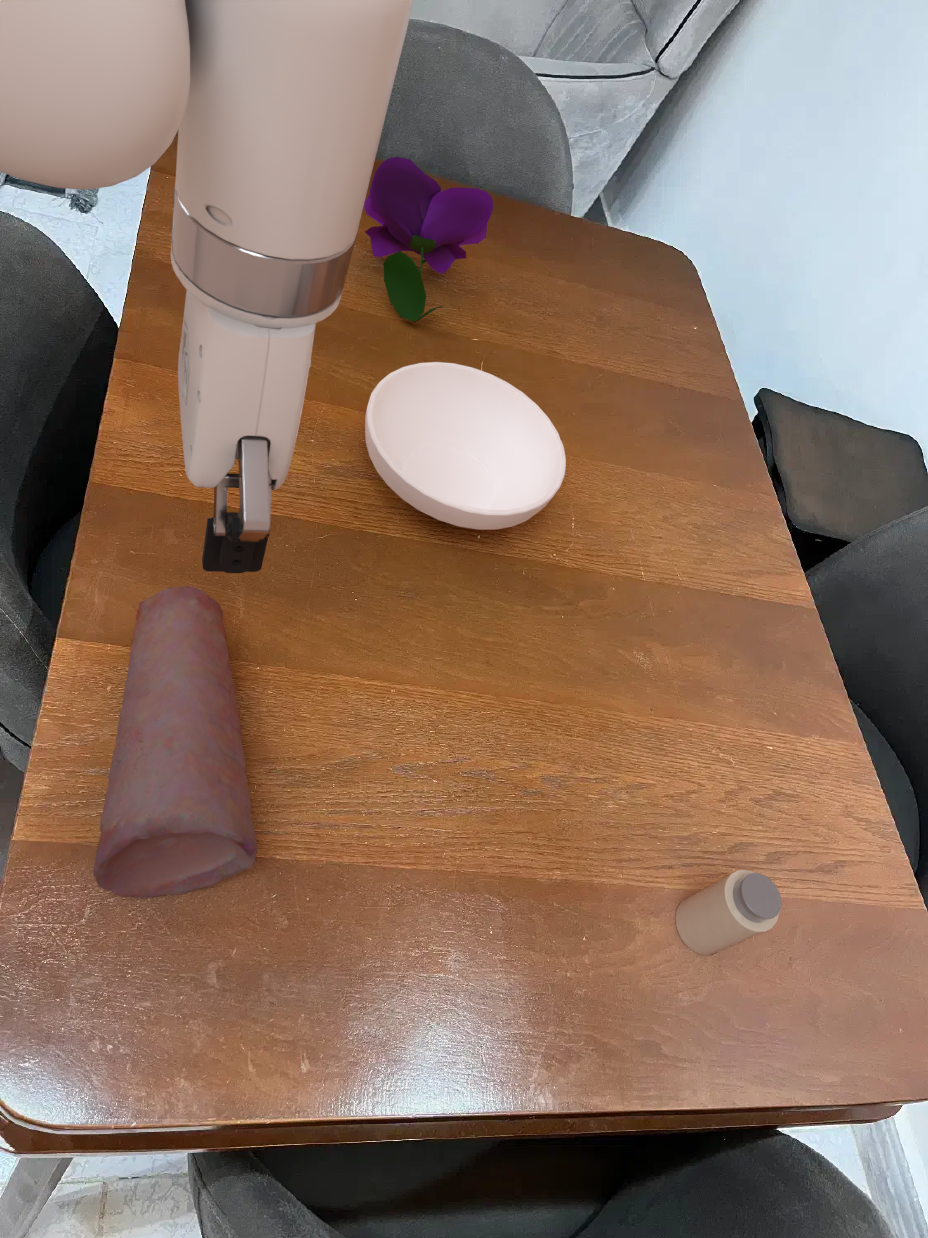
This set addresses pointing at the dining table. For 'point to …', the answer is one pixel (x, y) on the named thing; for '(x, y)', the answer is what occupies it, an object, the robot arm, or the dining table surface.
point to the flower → (420, 228)
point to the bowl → (463, 445)
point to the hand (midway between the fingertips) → (224, 501)
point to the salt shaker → (728, 912)
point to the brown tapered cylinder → (176, 758)
